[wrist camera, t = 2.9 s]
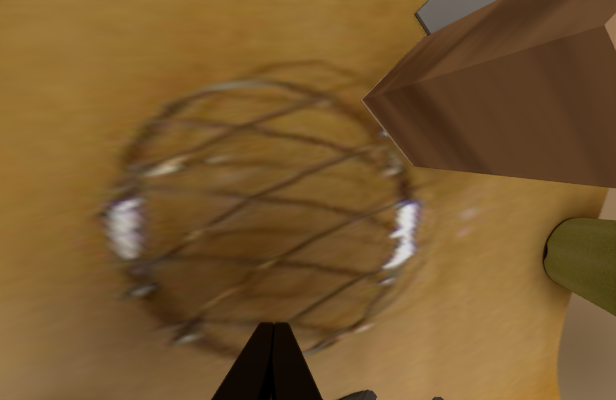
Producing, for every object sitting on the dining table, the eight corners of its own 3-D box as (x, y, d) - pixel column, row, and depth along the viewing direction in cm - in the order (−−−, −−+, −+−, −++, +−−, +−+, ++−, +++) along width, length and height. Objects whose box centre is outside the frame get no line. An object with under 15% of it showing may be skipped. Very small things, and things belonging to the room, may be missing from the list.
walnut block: (411, 165, 23) (680, 195, 10) (360, 100, 21) (604, 25, 8) (467, 107, 23) (796, 59, 10) (422, 38, 22) (750, -131, 8)
